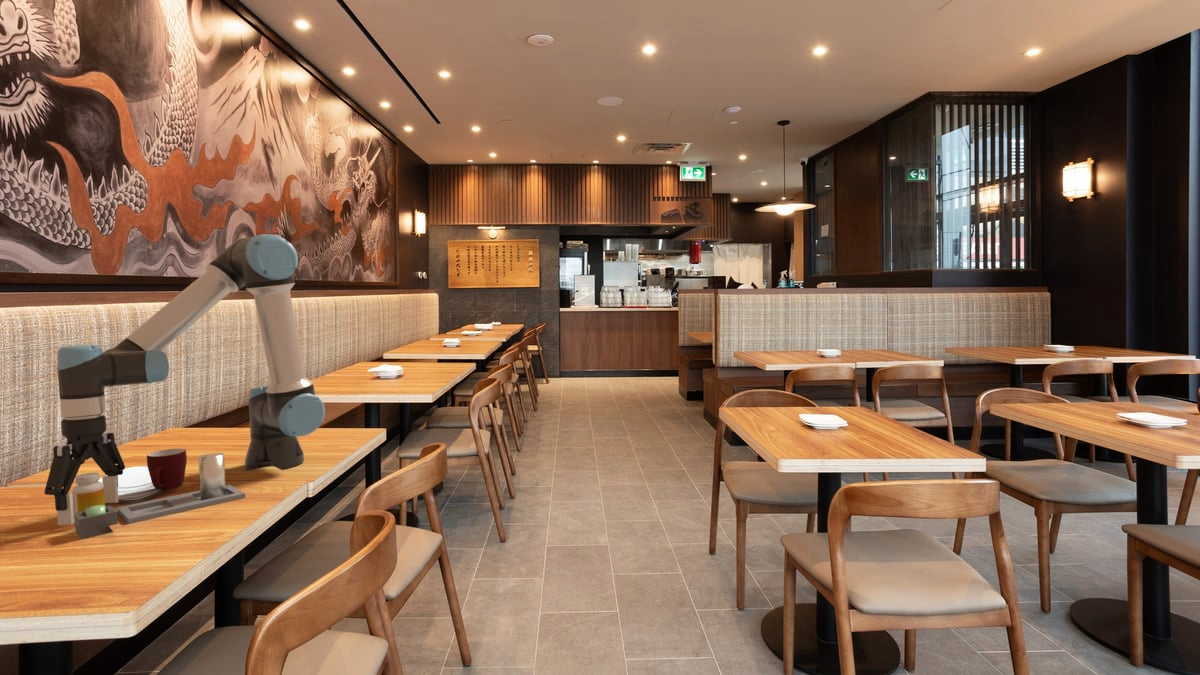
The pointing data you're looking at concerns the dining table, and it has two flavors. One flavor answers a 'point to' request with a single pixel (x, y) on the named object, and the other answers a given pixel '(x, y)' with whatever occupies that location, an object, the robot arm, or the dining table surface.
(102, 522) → the grey square holder
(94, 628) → the dining table surface
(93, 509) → the light green egg
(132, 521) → the grey slotted tray
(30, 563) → the dining table surface
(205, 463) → the seated billet
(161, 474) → the mug
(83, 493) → the supplement bottle
